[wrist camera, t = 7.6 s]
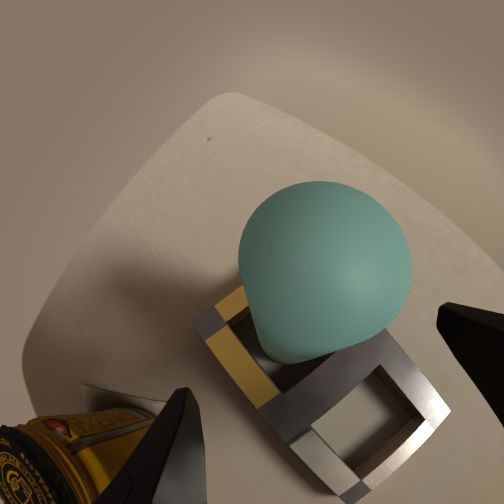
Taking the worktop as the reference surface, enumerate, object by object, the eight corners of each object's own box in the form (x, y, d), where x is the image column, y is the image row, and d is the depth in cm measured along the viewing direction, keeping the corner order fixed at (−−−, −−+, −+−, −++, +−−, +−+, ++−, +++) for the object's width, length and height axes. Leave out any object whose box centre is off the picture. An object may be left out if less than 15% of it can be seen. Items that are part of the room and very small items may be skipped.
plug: (299, 375, 17) (368, 381, 5) (246, 344, 18) (201, 283, 6) (329, 323, 18) (428, 229, 6) (279, 294, 19) (294, 158, 7)
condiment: (185, 495, 13) (102, 584, 2) (85, 466, 14) (-29, 492, 3) (185, 404, 16) (70, 433, 5) (83, 383, 17) (-46, 364, 6)
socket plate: (342, 495, 13) (350, 508, 10) (198, 327, 18) (189, 321, 16) (436, 409, 14) (453, 411, 12) (301, 251, 20) (305, 236, 18)
